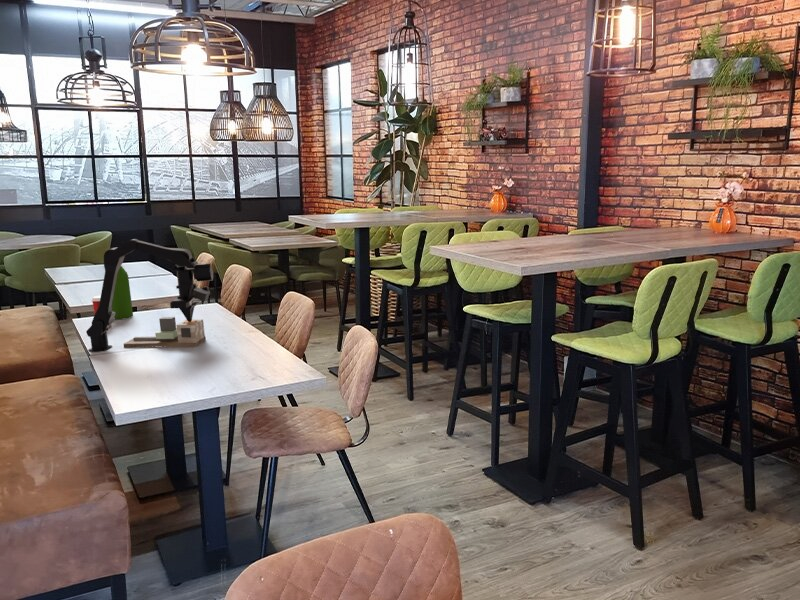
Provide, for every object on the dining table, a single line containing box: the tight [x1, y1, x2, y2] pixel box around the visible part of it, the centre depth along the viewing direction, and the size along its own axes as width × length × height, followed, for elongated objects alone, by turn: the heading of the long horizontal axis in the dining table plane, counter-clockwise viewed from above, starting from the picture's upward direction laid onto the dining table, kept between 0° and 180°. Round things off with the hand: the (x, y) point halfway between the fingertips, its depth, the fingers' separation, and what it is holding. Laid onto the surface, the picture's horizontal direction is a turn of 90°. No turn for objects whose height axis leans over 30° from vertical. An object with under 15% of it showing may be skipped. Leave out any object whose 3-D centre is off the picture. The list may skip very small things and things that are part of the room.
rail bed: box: [123, 318, 207, 348], centre depth 263 cm, size 10×29×8 cm, turn 84°
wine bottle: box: [111, 265, 134, 320], centre depth 312 cm, size 9×9×32 cm
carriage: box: [155, 316, 178, 339], centre depth 262 cm, size 8×7×7 cm
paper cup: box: [91, 294, 112, 329], centre depth 294 cm, size 8×8×14 cm
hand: (189, 321), depth 261 cm, fingers closed
